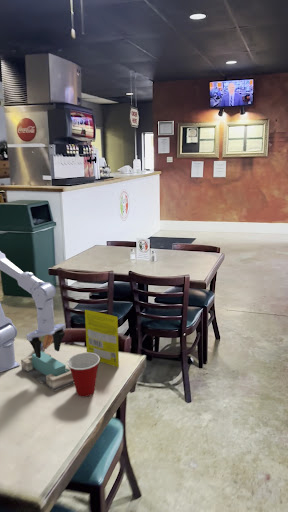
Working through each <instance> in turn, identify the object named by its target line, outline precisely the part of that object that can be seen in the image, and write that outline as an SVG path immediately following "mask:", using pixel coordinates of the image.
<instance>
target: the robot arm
mask: <svg viewBox="0 0 288 512" xmlns="http://www.w3.org/2000/svg"><path fill="white" fill-rule="evenodd" d="M0 271H2V272H3V273H5V274H7V275H8V276H10V277H11V278H13V279H15V280H16V281H17V285H18V286H19V287H21V288H22V289H23V290H24V291H26V292H28V293H29V294H30V295H31V297H32V299H33V301H34V304H35V305H34V306H35V308H36V317H37V329H36V330H33V331H31V332H29V333H27V334H26V340H27V341H28V342H29V343H30V345H31V347H32V349H33V351H34V354H36V357H38V358H41V350H40V349H41V341H40V340H39V339H38V338H39V337H42V336H45V335H52V334H53V339H54V340H53V348H54V351H56V352H59V351H60V348H61V344H62V342H63V338H64V337H65V334H66V332H65V331H66V324H64V323H58V324H55V315H54V313H55V312H54V297H55V296H56V294H57V290H56V287H55V286H54V285H53V284H52V283H51V282H45V281H43V280H41V279H39V278H38V277H37V276H35V275H34V273H33V272H31V271H30V272H29V271H25V272H24V271H22V270H21V268H19V267H18V266H16V265H15V264H14V263H13V262H11V260H9V259H8V258H7V257H6V254H5V253H3V252H2V251H1V250H0ZM17 335H18V329H17V327H16V326H15V325H14V323H13V321H12V319H11V318H9V317H7V316H6V315H5V311H4V309H3V307H2V303H1V302H0V373H2V372H6V371H9V370H12V369H14V368H16V367H19V366H21V365H20V363H19V362H17V361H16V356H15V345H14V344H15V343H14V342H15V338H16V337H17Z"/></svg>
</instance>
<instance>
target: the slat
mask: <svg viewBox="0 0 288 512" xmlns="http://www.w3.org/2000/svg"><path fill="white" fill-rule="evenodd" d="M31 356H32V362H33V367H34V368H35V369H37V370H38V371H40V372H41V373H43V374H45V375H46V376H47V375H49V374H52V375H54V376H55V377H57V376H59V375H62V374H64V373H66V368H67V367H66V364H65V363H64V362H61V361H59V360H58V359H56V358H54V357H53V356H52V355H51V356H49V355H47V354H46V353H44V351H41V358H38V357H36V354H35V353H32V354H31Z"/></svg>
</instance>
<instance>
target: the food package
mask: <svg viewBox="0 0 288 512" xmlns="http://www.w3.org/2000/svg"><path fill="white" fill-rule="evenodd" d="M84 318H85V320H84V321H85V322H84V323H85V325H84V326H85V341H86V343H85V344H86V347H85V348H86V353H95V354H97V355H98V356H99V357H100V361H99V363H103V364H107V365H109V366H113V367H117V368H120V364H119V363H120V361H119V358H120V357H119V324H118V322H119V321H118V320H119V318H118V316H115V315H111V314H107V313H104V312H103V313H102V312H98V311H93V310H88V309H84Z"/></svg>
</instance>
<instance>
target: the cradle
mask: <svg viewBox="0 0 288 512" xmlns="http://www.w3.org/2000/svg"><path fill="white" fill-rule="evenodd" d="M43 352H44V353H46V354H47V355H49V356H51V357H52V355H51V354H50V353H49V352H47V351H46V350H45V351H43ZM20 363H21V365H20V366H21V370H22V371H24V372H25V373H26V374H28V375H29V376H31V377H32V378H33V379H35V380H37V381H38V382H40V383H41V384H43V385H44V386H46V387H47V388H49V389H50V390H52V391H53V392H57V391H58V390H60V389H63V388H65V387H67V386H70V385H72V384H74V380H73V376H72V372H71V370H70V368H69V366H67V367H66V373H64V374H62V375H59V376H57V377H55V376H54V375H52V374H49V375H47V376H46V375H45V374H43V373H41V372H40V371H38V370H37V369H35V368H34V367H33V362H32V355H30V356H27V357H24V358H21V359H20Z"/></svg>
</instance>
